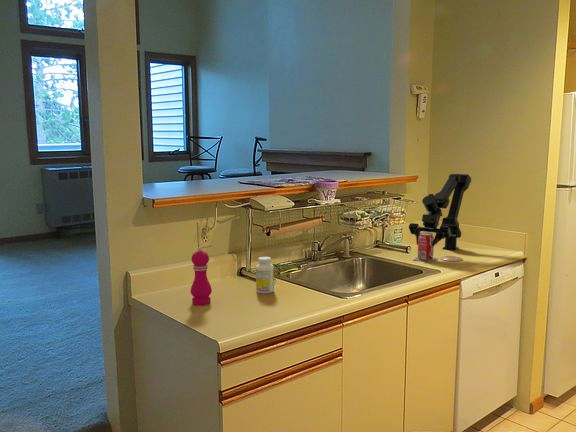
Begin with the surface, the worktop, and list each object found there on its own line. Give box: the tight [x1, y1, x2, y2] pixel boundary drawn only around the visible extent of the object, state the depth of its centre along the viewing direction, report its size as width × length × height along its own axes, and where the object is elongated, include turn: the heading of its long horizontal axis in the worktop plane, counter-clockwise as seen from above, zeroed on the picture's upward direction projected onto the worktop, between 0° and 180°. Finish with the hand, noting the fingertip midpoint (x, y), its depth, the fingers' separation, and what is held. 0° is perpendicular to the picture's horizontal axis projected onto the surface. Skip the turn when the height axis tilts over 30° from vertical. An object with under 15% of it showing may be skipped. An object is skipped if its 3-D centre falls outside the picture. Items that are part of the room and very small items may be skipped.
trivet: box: [439, 255, 463, 263], centre depth 254 cm, size 10×10×1 cm
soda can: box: [417, 232, 435, 260], centre depth 253 cm, size 7×7×12 cm
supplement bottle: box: [255, 256, 275, 295], centre depth 203 cm, size 7×7×13 cm
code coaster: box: [412, 256, 439, 264], centre depth 254 cm, size 9×9×1 cm
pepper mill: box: [190, 246, 213, 307], centre depth 189 cm, size 7×7×20 cm
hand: (424, 245), depth 251 cm, fingers closed on soda can, 7 cm apart
